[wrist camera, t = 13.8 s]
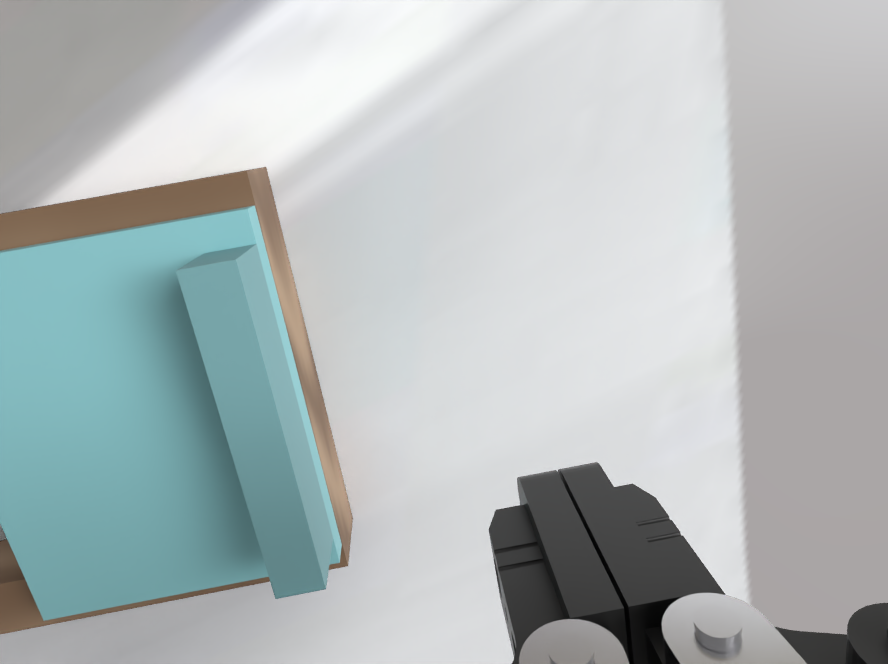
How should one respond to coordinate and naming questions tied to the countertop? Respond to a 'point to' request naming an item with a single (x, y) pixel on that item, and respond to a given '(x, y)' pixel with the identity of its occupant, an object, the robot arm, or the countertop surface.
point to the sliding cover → (155, 419)
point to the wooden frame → (3, 584)
